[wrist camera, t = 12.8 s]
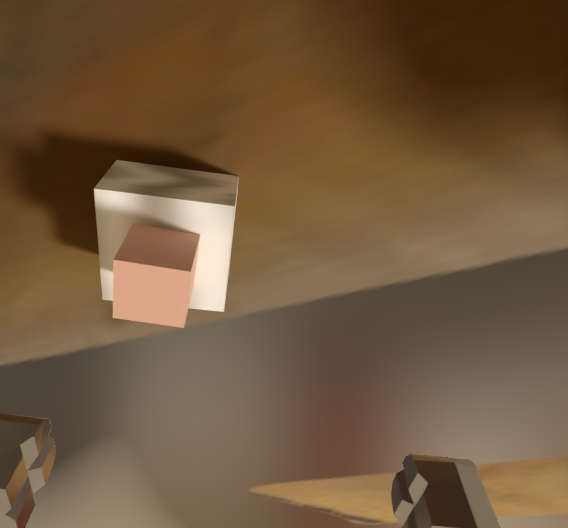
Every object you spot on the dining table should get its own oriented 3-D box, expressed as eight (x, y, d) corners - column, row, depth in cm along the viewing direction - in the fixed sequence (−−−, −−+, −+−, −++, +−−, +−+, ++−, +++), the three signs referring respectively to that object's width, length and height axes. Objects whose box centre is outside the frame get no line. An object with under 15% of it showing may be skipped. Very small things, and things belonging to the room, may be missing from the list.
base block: (239, 175, 38) (234, 206, 33) (228, 272, 43) (223, 311, 38) (117, 158, 37) (93, 188, 32) (122, 260, 42) (102, 299, 37)
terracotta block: (200, 234, 34) (190, 271, 30) (193, 286, 37) (183, 327, 33) (132, 223, 33) (113, 259, 29) (131, 277, 36) (112, 317, 32)
